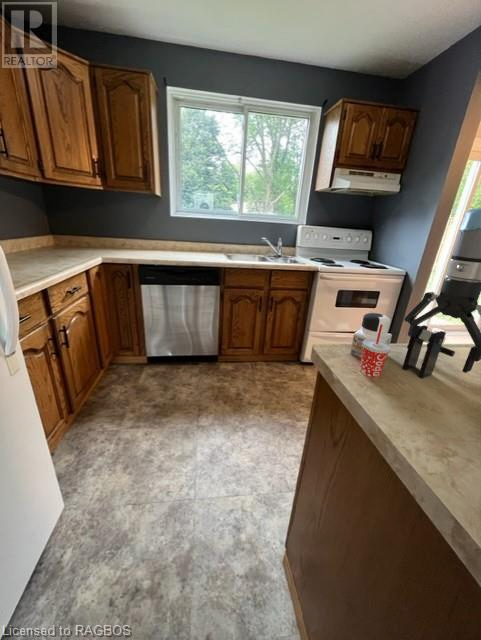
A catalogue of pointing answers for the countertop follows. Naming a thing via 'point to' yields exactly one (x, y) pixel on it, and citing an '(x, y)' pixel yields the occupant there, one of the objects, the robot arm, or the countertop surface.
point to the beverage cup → (374, 356)
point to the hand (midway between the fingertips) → (436, 358)
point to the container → (370, 332)
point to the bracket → (430, 353)
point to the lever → (426, 338)
